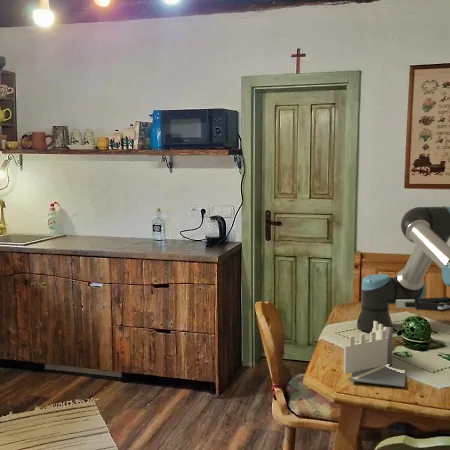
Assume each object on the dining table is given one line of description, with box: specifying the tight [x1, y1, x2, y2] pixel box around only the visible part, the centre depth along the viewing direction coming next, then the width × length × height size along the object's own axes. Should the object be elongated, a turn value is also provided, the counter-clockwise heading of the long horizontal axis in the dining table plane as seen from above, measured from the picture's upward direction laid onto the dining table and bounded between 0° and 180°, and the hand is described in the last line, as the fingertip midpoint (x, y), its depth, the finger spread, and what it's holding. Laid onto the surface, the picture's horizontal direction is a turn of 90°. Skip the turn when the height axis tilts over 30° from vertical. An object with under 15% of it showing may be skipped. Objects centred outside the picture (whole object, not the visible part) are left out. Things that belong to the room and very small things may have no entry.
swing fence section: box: [343, 330, 388, 375], centre depth 204 cm, size 20×1×13 cm, turn 118°
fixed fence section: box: [372, 321, 394, 365], centre depth 215 cm, size 14×2×14 cm, turn 11°
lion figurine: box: [392, 335, 405, 351], centre depth 226 cm, size 15×5×9 cm
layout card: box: [349, 365, 406, 388], centre depth 208 cm, size 34×18×1 cm, turn 161°
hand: (396, 303), depth 200 cm, fingers closed
